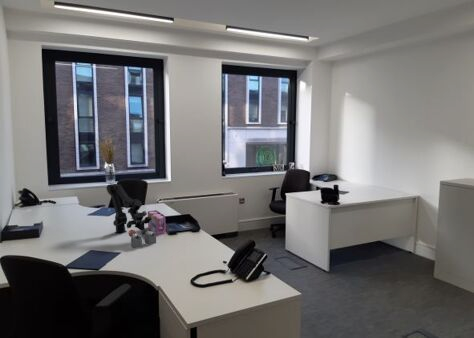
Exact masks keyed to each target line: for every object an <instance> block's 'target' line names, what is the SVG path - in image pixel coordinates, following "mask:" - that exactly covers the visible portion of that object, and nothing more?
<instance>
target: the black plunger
mask: <svg viewBox="0 0 474 338" xmlns="http://www.w3.org/2000/svg"><path fill="white" fill-rule="evenodd" d="M145 233H149V234H151V236H152V235H153V231H152V232H150V230H149V228H144V229H143V230H142V231H141V235H143V236H145Z"/></svg>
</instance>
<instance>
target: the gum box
mask: <svg viewBox="0 0 474 338" xmlns="http://www.w3.org/2000/svg"><path fill="white" fill-rule="evenodd" d="M148 216H150V217H151V218H152V219H151V220H150V222H149V223H147V226H148V227H147V228H148V229H150V230H151V231H152V232H155V233H156V235H160V234H161V235H162V234H166V232H167V231H166V229H167V228H166V216H165V215H164V214H163V213H161V212H159V211H158V210H157V209H155V210H150V211H149V210H148V211H147V217H148Z"/></svg>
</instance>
